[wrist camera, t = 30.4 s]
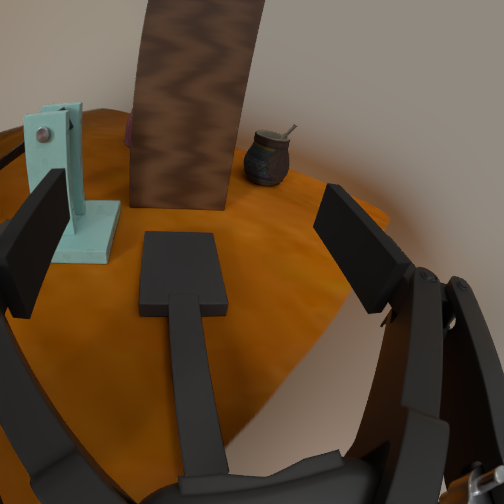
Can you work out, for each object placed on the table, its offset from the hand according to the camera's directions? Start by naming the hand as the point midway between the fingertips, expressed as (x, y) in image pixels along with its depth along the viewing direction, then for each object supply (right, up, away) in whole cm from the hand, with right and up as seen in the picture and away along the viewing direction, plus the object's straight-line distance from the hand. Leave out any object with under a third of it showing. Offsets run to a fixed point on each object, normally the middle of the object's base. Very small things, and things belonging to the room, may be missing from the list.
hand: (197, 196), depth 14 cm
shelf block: (-8, +7, +28) cm, 30 cm away
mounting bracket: (-18, -1, +15) cm, 23 cm away
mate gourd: (+4, +9, +35) cm, 37 cm away
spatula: (-3, -9, +8) cm, 12 cm away
